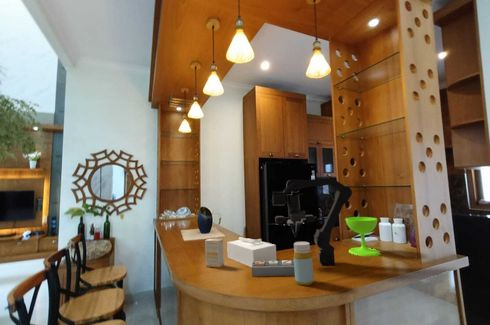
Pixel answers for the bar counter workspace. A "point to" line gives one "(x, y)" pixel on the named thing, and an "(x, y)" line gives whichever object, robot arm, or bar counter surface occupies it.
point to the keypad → (273, 269)
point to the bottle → (303, 263)
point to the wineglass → (362, 234)
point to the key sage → (273, 263)
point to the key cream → (286, 262)
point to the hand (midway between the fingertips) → (295, 236)
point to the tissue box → (251, 251)
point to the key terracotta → (259, 263)
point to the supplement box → (214, 253)
